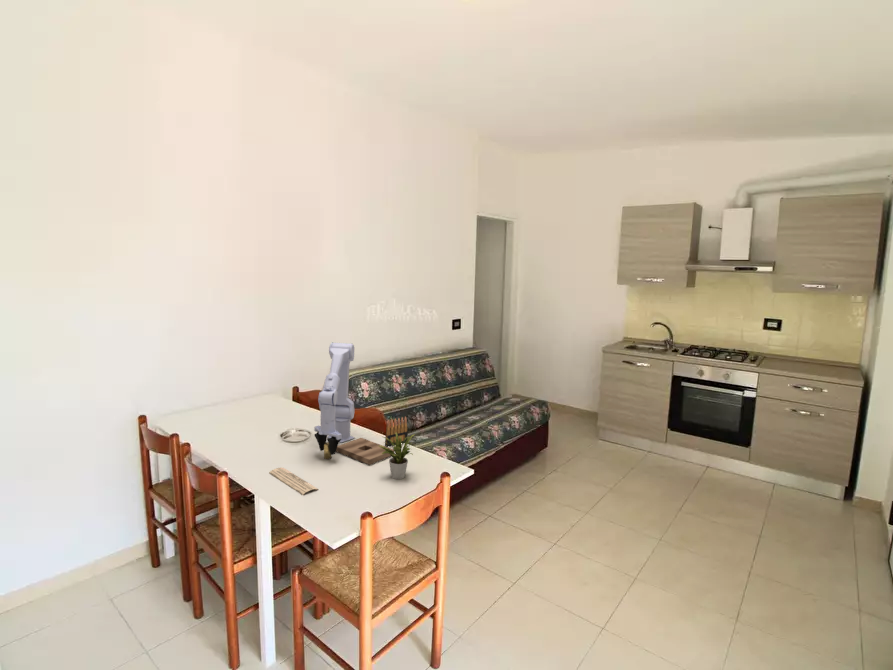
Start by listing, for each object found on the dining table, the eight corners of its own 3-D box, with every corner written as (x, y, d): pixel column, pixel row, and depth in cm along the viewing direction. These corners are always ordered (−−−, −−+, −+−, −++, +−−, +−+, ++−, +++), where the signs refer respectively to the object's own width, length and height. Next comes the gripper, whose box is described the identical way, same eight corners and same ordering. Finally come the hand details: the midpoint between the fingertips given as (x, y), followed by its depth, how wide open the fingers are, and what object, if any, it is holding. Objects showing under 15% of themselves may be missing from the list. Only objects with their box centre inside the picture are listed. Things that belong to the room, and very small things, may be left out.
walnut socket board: (336, 452, 204) (336, 446, 204) (360, 443, 215) (360, 437, 215) (369, 465, 193) (369, 459, 192) (394, 455, 204) (394, 449, 203)
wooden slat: (269, 475, 182) (269, 470, 182) (286, 469, 188) (286, 465, 187) (303, 497, 167) (303, 492, 166) (321, 491, 172) (321, 486, 172)
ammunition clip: (405, 441, 220) (406, 415, 218) (407, 442, 219) (408, 416, 217) (384, 445, 214) (385, 419, 212) (386, 447, 212) (387, 420, 211)
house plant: (399, 463, 196) (400, 424, 193) (425, 474, 187) (426, 433, 185) (372, 474, 185) (373, 433, 182) (398, 486, 176) (400, 443, 174)
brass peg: (322, 457, 198) (322, 443, 197) (328, 455, 201) (328, 441, 200) (327, 459, 196) (327, 445, 196) (333, 457, 199) (333, 443, 198)
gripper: (308, 418, 197) (308, 450, 199) (331, 426, 189) (331, 459, 191) (322, 414, 203) (322, 445, 205) (345, 422, 194) (345, 454, 196)
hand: (327, 452), depth 198 cm, fingers open, 6 cm apart
